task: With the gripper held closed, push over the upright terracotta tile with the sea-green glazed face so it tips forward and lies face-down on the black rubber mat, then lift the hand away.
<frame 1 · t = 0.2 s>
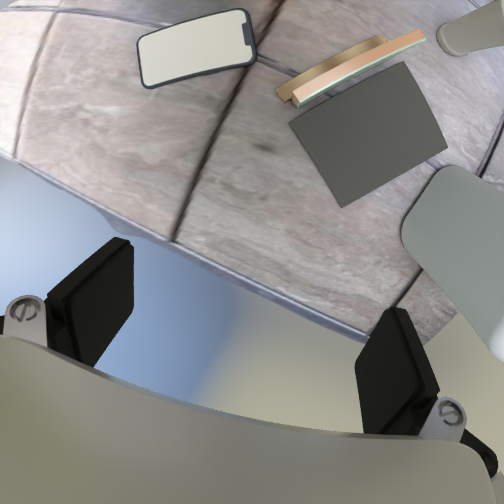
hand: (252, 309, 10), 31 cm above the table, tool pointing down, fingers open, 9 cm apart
rubber mat: (373, 132, 34), on the table
tile: (351, 70, 25), point 7 cm above the table, hinge at 0.0°
phone case: (195, 48, 32), on the table
plastic bottle: (449, 222, 37), on the table
bottle: (450, 41, 26), on the table
tile stand: (332, 67, 31), on the table
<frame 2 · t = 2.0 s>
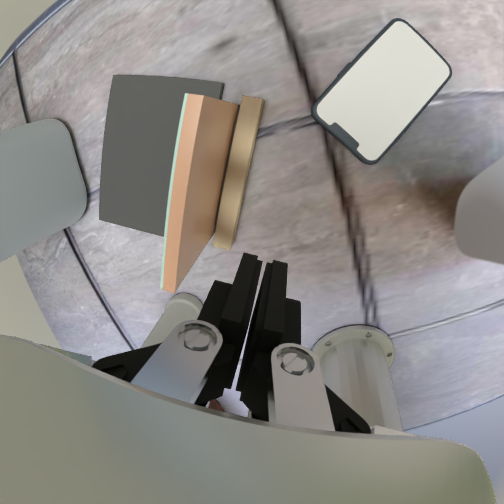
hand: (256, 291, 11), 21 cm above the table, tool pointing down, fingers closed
rubber mat: (153, 155, 31), on the table
tile: (202, 182, 24), point 7 cm above the table, hinge at 0.0°
phone case: (384, 87, 25), on the table
plastic bottle: (48, 177, 34), on the table
bottle: (187, 306, 39), on the table
tile stand: (239, 172, 31), on the table
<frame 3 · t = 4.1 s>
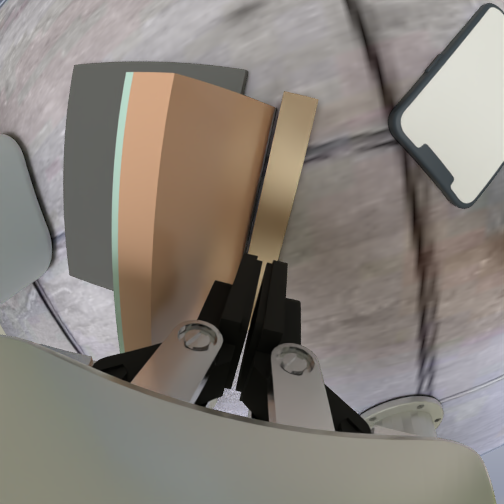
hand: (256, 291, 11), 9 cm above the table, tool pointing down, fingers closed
rubber mat: (136, 187, 20), on the table
tile: (206, 255, 13), point 7 cm above the table, hinge at 6.0°, touching gripper
phone case: (478, 96, 14), on the table
plastic bottle: (5, 212, 23), on the table
tile stand: (272, 216, 20), on the table
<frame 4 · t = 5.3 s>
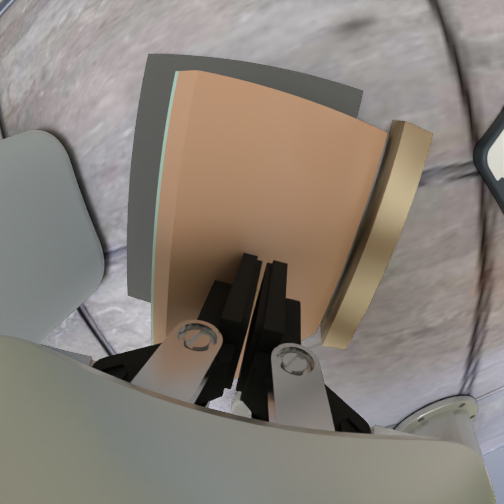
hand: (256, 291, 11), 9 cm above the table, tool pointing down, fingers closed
rubber mat: (225, 202, 19), on the table
tile: (279, 259, 14), point 6 cm above the table, hinge at 40.9°, touching gripper
plastic bottle: (39, 220, 22), on the table
tile stand: (369, 238, 19), on the table
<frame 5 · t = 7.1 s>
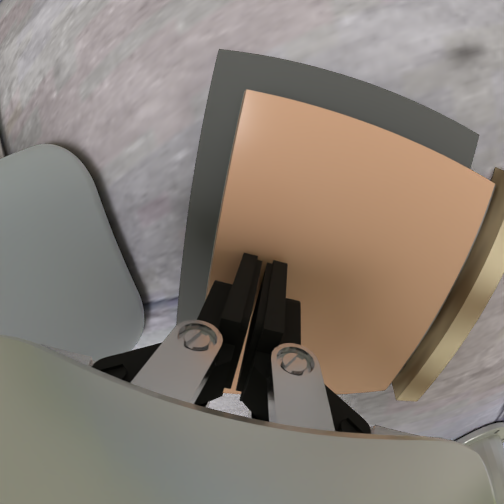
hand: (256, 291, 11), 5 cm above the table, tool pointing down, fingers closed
rubber mat: (311, 253, 16), on the table
tile: (346, 290, 13), point 3 cm above the table, hinge at 77.2°, touching gripper
plastic bottle: (52, 257, 18), on the table
tile stand: (456, 292, 15), on the table
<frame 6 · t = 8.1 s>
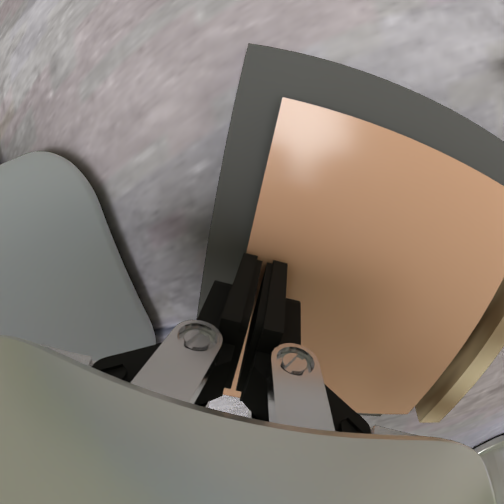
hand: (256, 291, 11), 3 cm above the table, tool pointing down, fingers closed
rubber mat: (345, 279, 14), on the table
tile: (376, 307, 12), point 2 cm above the table, hinge at 87.6°, touching gripper
plastic bottle: (52, 275, 17), on the table
tile stand: (485, 314, 13), on the table
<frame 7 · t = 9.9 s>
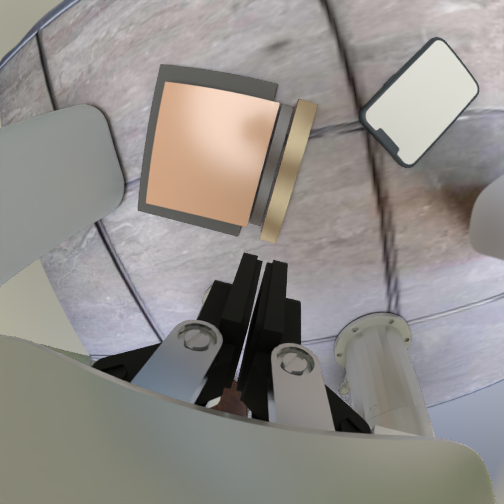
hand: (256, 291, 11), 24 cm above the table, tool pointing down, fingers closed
rubber mat: (201, 148, 32), on the table
tile: (207, 153, 30), point 2 cm above the table, hinge at 87.7°
phone case: (421, 99, 27), on the table
case: (212, 390, 52), on the table
plastic bottle: (77, 165, 34), on the table
tile stand: (287, 170, 32), on the table
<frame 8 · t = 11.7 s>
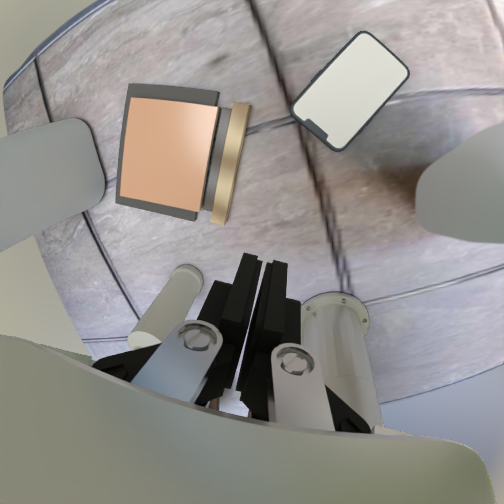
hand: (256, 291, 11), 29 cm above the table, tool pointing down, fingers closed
rubber mat: (162, 149, 38), on the table
tile: (165, 152, 37), point 2 cm above the table, hinge at 87.7°
phone case: (350, 89, 32), on the table
plastic bottle: (69, 168, 41), on the table
bottle: (189, 277, 47), on the table
tile stand: (231, 162, 38), on the table
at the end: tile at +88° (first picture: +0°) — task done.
